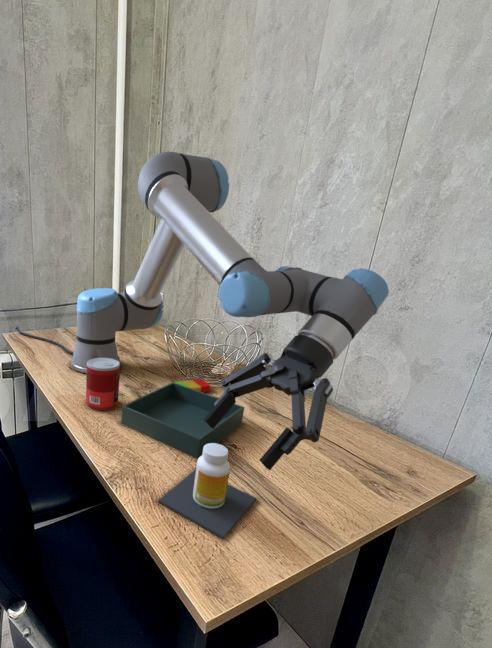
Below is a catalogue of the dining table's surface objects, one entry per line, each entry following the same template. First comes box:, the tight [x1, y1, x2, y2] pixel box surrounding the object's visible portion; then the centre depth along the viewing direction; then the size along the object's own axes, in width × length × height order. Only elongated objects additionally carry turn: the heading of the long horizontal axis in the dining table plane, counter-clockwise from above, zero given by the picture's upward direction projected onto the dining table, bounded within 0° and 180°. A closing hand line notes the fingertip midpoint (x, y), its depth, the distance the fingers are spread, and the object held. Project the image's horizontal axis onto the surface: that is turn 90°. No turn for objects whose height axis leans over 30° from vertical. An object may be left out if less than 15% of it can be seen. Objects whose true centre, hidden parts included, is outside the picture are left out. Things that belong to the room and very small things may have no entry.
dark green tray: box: [120, 381, 245, 460], centre depth 92 cm, size 20×20×4 cm
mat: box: [158, 469, 257, 540], centre depth 67 cm, size 12×12×1 cm
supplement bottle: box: [193, 443, 231, 509], centre depth 66 cm, size 5×5×10 cm
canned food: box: [85, 358, 121, 411], centre depth 98 cm, size 8×8×11 cm
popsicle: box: [174, 378, 212, 393], centre depth 110 cm, size 6×15×2 cm, turn 114°
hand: (233, 443), depth 66 cm, fingers open, 13 cm apart
